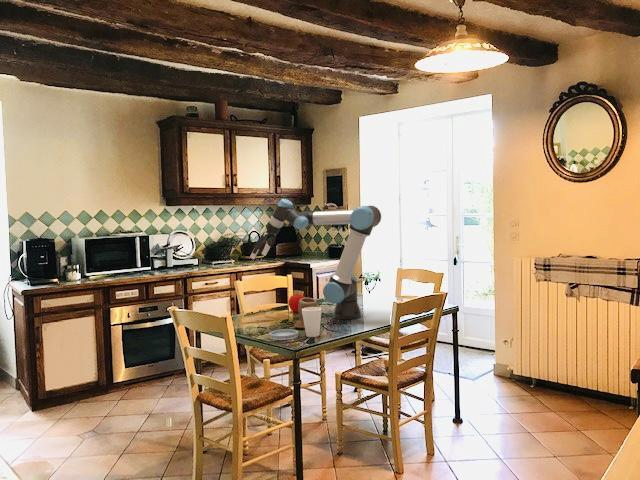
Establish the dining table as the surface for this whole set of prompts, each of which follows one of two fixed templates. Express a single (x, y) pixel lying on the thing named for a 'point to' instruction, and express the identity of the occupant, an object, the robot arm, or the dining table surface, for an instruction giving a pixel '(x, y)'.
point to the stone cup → (302, 304)
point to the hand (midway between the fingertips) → (257, 256)
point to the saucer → (283, 334)
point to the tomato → (295, 302)
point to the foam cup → (312, 320)
